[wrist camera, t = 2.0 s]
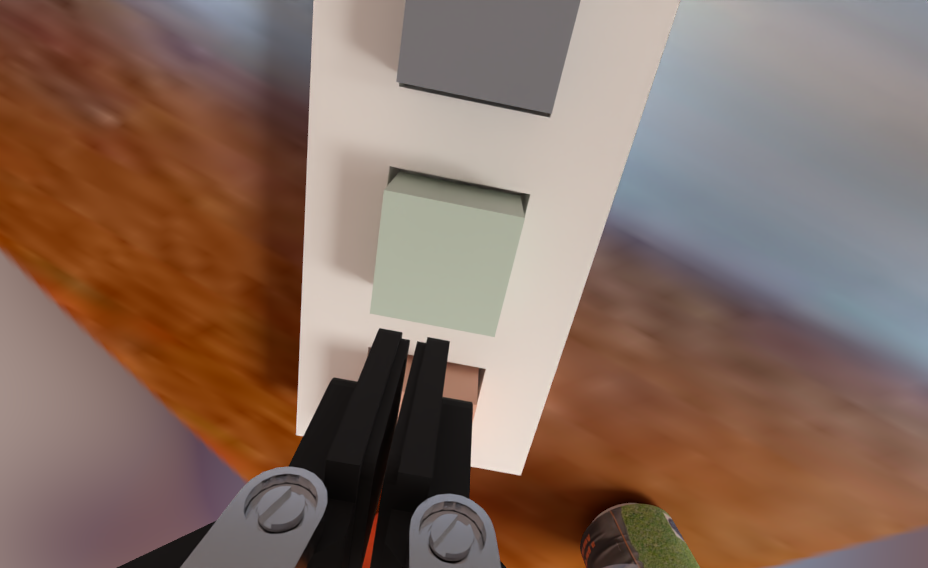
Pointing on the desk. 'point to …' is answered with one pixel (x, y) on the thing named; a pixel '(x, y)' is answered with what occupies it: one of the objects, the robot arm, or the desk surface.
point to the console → (475, 164)
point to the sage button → (445, 253)
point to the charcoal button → (488, 48)
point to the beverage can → (635, 539)
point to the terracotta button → (454, 382)
